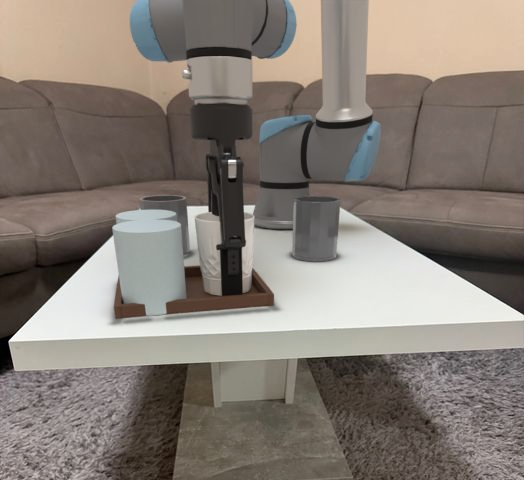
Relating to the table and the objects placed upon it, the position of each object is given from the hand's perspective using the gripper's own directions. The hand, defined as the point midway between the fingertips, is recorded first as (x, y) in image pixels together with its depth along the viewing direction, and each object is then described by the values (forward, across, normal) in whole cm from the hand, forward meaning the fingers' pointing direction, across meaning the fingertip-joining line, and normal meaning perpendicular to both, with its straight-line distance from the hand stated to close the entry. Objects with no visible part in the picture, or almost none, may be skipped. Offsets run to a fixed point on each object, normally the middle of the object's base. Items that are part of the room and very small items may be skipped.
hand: (227, 287), depth 64 cm
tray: (+1, 0, -5) cm, 5 cm away
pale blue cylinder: (0, +4, -10) cm, 11 cm away
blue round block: (0, -4, -10) cm, 11 cm away
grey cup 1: (+1, -24, -7) cm, 25 cm away
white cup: (0, 0, 0) cm, 0 cm away
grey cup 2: (+1, -17, +19) cm, 26 cm away
